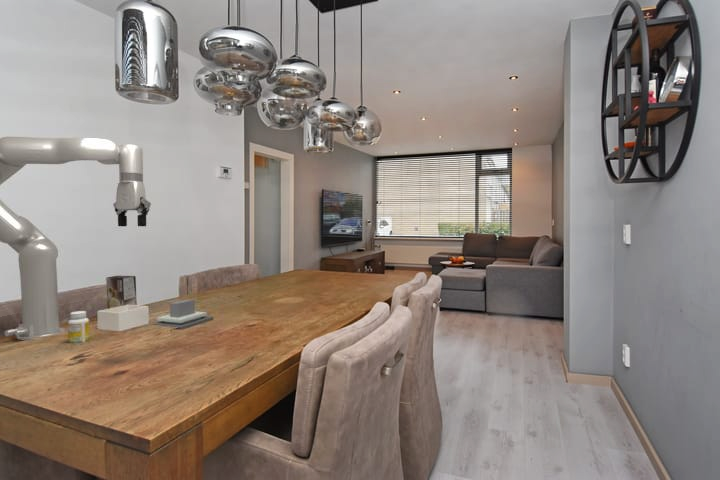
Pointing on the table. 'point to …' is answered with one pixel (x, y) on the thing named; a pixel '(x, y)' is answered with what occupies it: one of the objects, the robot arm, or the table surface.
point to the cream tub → (123, 317)
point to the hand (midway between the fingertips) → (132, 226)
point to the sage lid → (182, 312)
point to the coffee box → (121, 291)
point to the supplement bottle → (78, 327)
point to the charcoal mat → (185, 325)
